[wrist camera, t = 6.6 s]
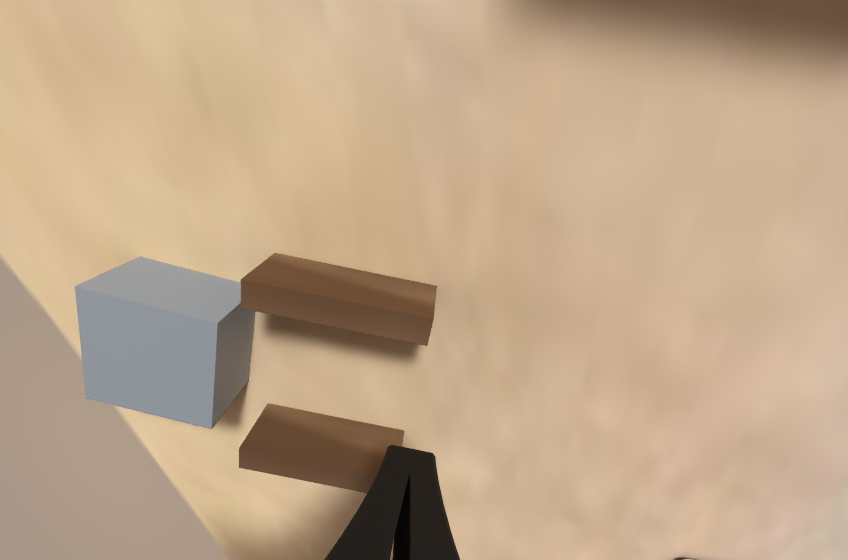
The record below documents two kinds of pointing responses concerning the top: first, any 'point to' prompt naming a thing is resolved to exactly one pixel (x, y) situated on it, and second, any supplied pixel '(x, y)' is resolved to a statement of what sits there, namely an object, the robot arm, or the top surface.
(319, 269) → the channel
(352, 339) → the top surface
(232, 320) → the block
